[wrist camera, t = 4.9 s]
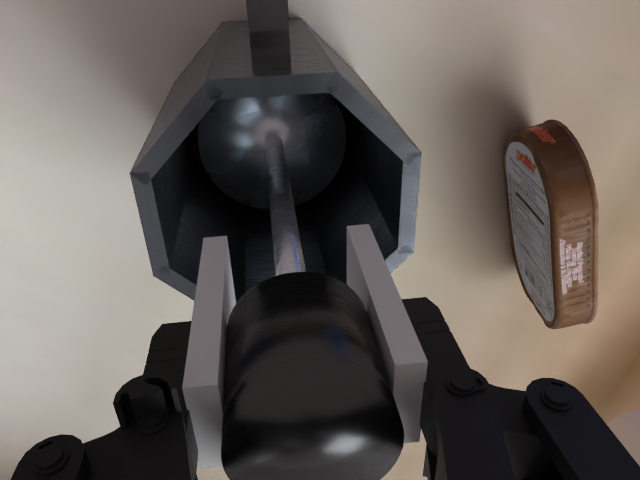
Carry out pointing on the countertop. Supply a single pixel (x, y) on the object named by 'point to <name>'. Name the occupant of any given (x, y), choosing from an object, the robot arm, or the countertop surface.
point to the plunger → (295, 310)
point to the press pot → (255, 223)
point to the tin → (553, 222)
